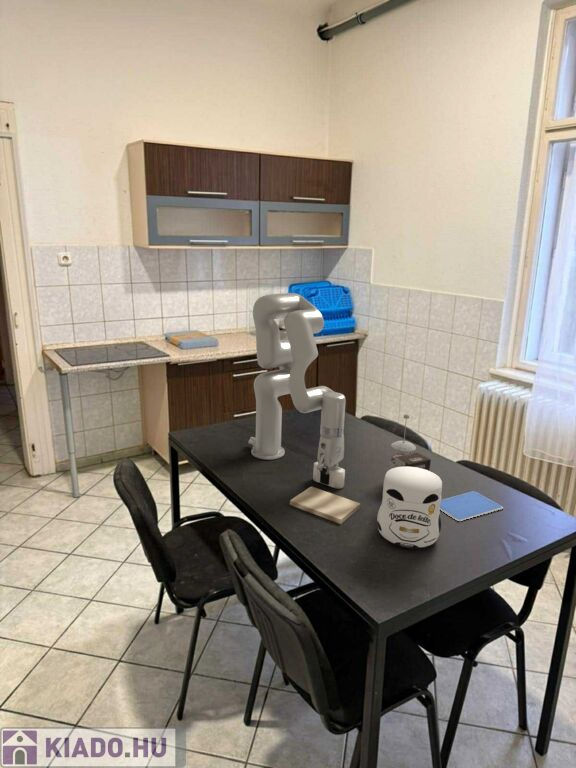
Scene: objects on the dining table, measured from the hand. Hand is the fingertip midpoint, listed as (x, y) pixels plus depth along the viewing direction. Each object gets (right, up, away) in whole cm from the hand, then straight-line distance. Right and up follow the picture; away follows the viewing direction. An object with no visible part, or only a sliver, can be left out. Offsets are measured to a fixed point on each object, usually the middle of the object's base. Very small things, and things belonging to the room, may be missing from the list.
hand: (328, 480), depth 180 cm
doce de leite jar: (+20, -11, -29) cm, 37 cm away
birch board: (-2, -5, -15) cm, 16 cm away
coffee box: (+24, -6, -12) cm, 27 cm away
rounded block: (0, -1, 0) cm, 1 cm away
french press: (+25, -2, +2) cm, 25 cm away
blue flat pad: (+43, -7, -12) cm, 45 cm away
